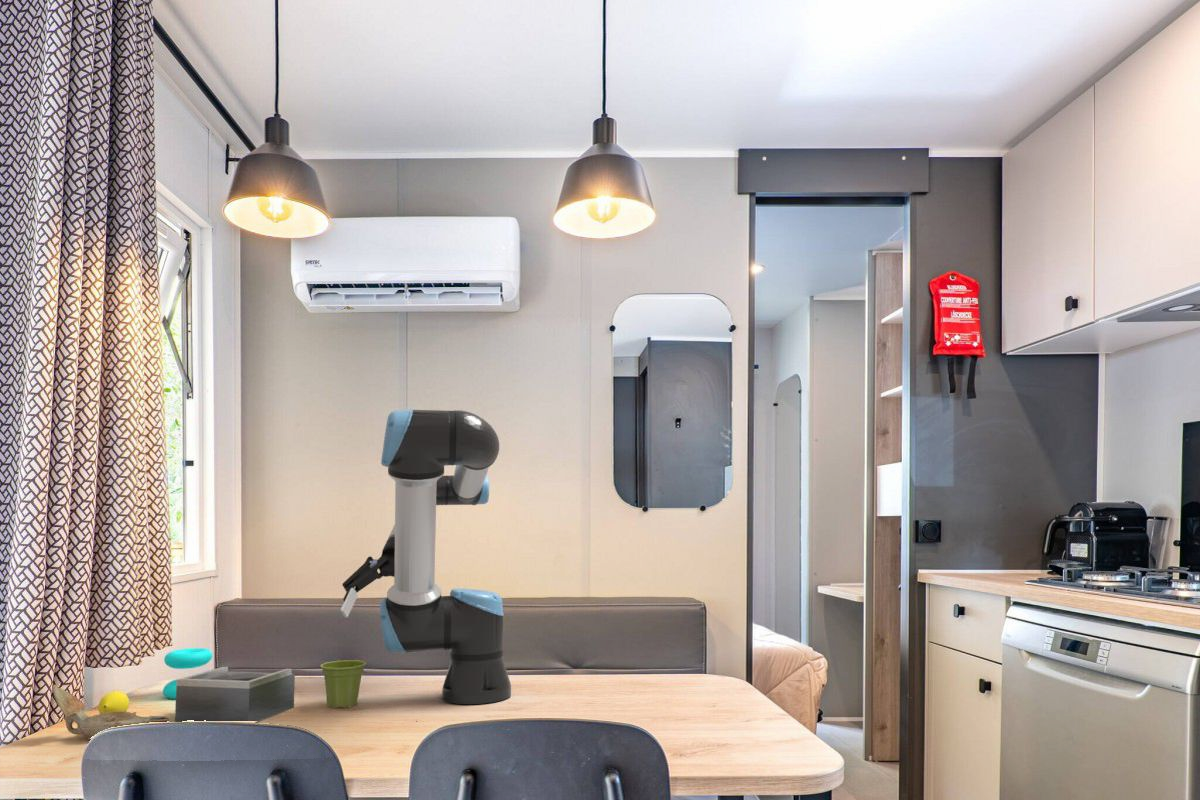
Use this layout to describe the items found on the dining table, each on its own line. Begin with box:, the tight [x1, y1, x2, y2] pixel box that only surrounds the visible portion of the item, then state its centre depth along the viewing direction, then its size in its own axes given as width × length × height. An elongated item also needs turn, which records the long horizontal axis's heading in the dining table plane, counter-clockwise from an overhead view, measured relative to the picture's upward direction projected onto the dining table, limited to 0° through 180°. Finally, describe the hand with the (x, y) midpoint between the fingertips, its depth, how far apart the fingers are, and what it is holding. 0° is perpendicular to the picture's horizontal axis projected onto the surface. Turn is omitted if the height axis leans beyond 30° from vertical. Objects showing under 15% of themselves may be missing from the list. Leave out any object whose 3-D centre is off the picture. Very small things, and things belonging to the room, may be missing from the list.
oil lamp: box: [52, 684, 171, 740], centre depth 157 cm, size 9×21×10 cm, turn 95°
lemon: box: [97, 690, 130, 714], centre depth 171 cm, size 7×5×5 cm
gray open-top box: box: [174, 666, 296, 722], centre depth 173 cm, size 20×15×8 cm
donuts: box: [162, 647, 213, 700], centre depth 192 cm, size 10×10×10 cm
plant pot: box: [320, 659, 367, 709], centre depth 178 cm, size 9×9×9 cm
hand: (370, 614), depth 191 cm, fingers open, 13 cm apart
